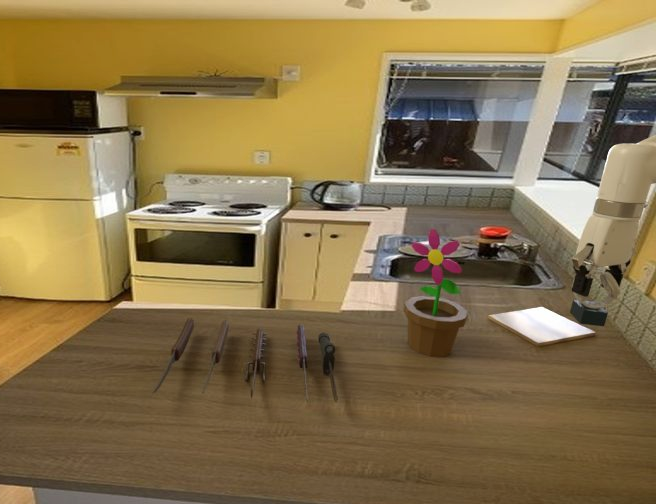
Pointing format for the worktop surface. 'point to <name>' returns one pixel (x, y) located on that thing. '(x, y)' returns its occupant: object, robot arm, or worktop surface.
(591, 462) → the worktop surface
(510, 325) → the board
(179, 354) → the knife set
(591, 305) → the watch
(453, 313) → the flowerpot
